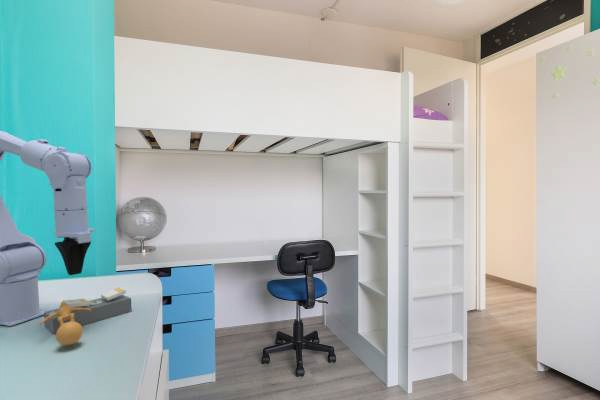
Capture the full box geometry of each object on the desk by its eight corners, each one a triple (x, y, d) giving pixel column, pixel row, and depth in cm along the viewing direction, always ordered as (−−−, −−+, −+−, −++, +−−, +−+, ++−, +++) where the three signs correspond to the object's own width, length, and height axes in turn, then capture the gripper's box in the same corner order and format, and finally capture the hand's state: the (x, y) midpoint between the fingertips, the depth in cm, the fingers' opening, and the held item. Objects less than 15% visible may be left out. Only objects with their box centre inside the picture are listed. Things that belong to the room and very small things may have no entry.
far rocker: (108, 302, 75) (107, 297, 75) (102, 299, 78) (100, 294, 77) (126, 294, 78) (125, 289, 78) (119, 291, 81) (118, 287, 80)
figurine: (40, 343, 56) (34, 294, 64) (45, 366, 59) (38, 317, 67) (97, 325, 61) (85, 282, 69) (99, 347, 64) (87, 303, 72)
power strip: (53, 334, 67) (52, 317, 66) (44, 326, 70) (44, 310, 70) (131, 311, 78) (131, 297, 78) (120, 305, 82) (119, 292, 82)
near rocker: (67, 309, 69) (68, 303, 69) (61, 306, 72) (62, 300, 72) (89, 307, 72) (90, 301, 72) (83, 304, 75) (84, 298, 75)
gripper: (105, 209, 70) (108, 274, 70) (80, 207, 79) (83, 265, 79) (65, 211, 64) (69, 282, 65) (43, 210, 73) (47, 272, 74)
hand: (74, 273), depth 72 cm, fingers closed
